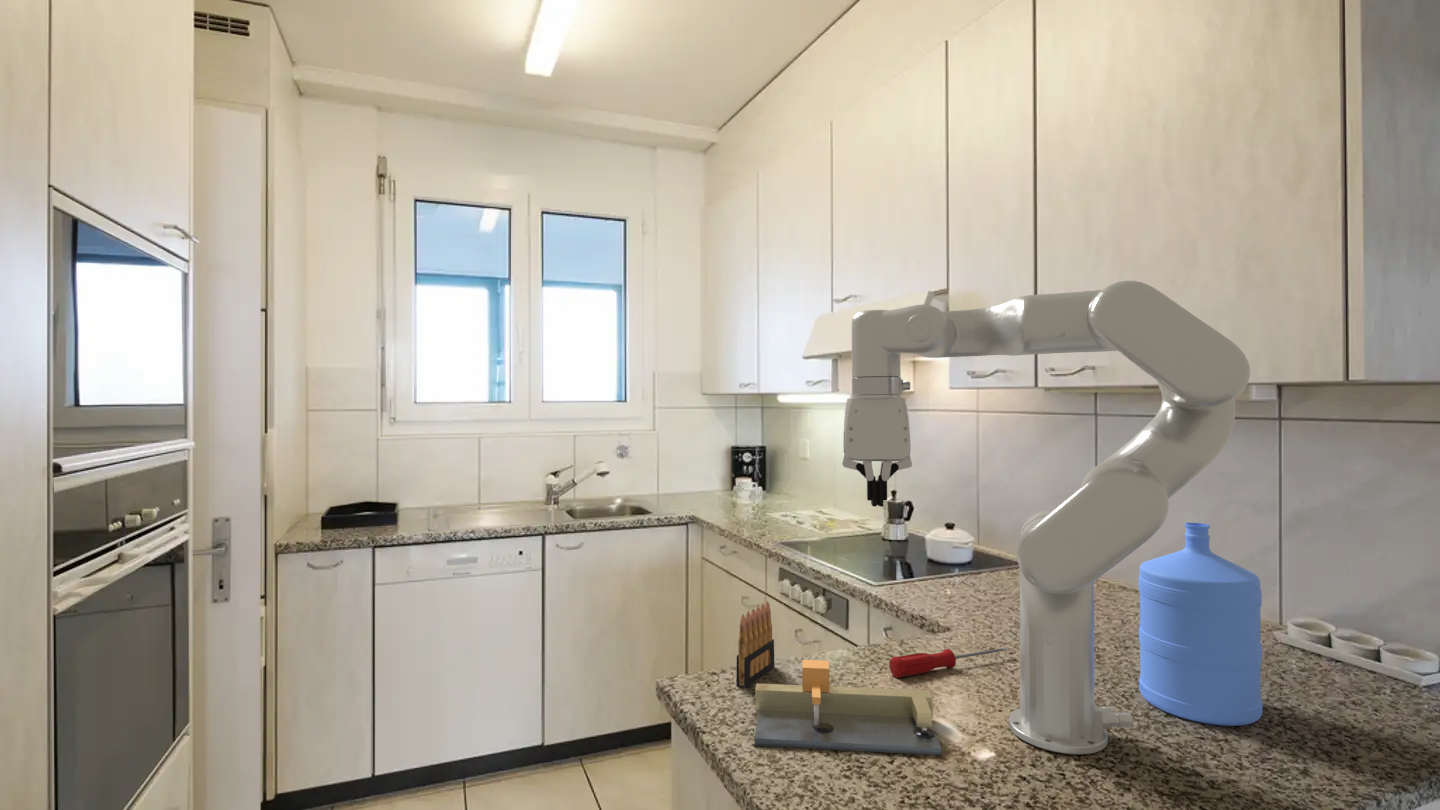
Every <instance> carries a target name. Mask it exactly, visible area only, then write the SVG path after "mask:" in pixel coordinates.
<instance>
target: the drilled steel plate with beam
mask: <svg viewBox="0 0 1440 810" xmlns="http://www.w3.org/2000/svg"><path fill="white" fill-rule="evenodd" d="M829 689H830V692H820V694H821V705H819V726H815V725H814V704H812V692H811V691H802V684H799V685H797V684H782V683H781V684H777V683H755V692H754V693H755V695H754V696H755V697H754V699H755V710H756V711H758V713H757V720H756V727H755V733H754V746H759V747H777V748H794V749H795V748H798V749H813V750H814V749H815V750H830V751H831V750H834V751H850V752H852V751H853V752H872V753H888V754H891V753H892V754H904V755H905V754H907V755H911V754H912V755H923V754H924V755H926V756H942V747H941V745H940V742H939V740H938V736H937V735H936V732H935V729H934V727H933V717H934V716H933V712H934V711H933V707H934V706H933V696H932V693H931V691H930V690H924V689H923V690H921V689H898V688H897V689H896V688H894V689H893V688H873V687H852V686H851V687H848V686H845V687H844V686H829Z"/></svg>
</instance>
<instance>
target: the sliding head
mask: <svg viewBox="0 0 1440 810" xmlns="http://www.w3.org/2000/svg"><path fill="white" fill-rule="evenodd" d="M801 669H802V670H801V671H802V673H801V674H802V675H801V677H802V680H801V681H802V684H801V685H802V691H811V692H812V704H814V725H815V726H819V705H821V694H820V692H830V689H829V687H830V662H829V660H821V659H820V660H819V659H818V660H817V659H802V663H801Z"/></svg>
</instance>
